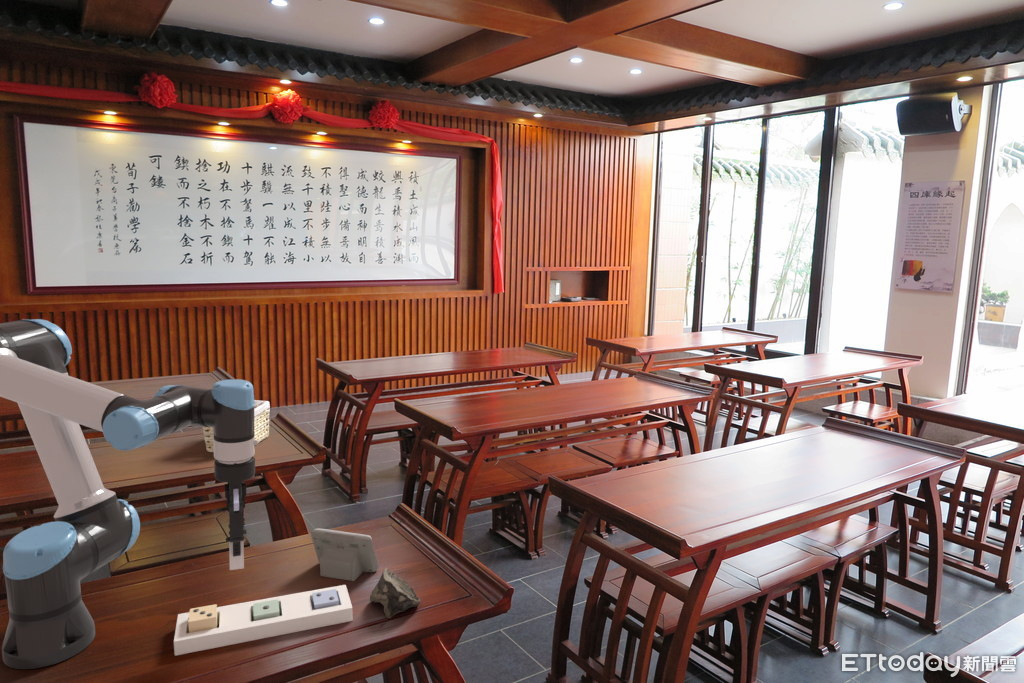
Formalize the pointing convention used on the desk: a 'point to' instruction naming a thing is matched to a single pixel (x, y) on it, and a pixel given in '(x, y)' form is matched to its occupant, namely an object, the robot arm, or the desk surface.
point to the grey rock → (393, 594)
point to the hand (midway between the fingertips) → (236, 567)
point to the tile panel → (262, 621)
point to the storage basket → (259, 425)
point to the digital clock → (344, 553)
